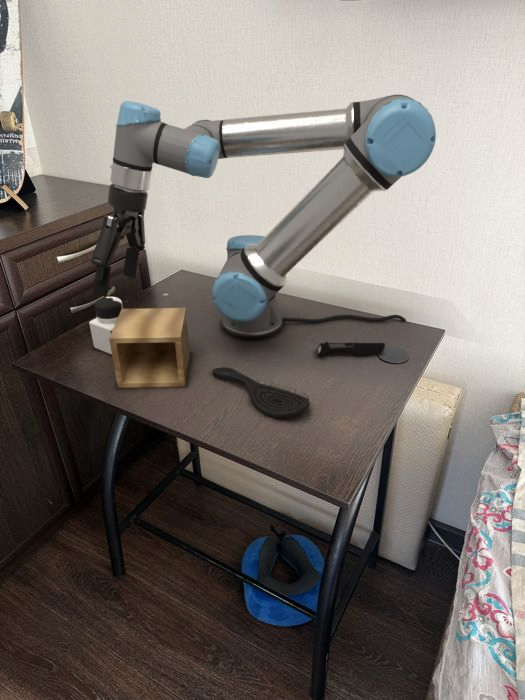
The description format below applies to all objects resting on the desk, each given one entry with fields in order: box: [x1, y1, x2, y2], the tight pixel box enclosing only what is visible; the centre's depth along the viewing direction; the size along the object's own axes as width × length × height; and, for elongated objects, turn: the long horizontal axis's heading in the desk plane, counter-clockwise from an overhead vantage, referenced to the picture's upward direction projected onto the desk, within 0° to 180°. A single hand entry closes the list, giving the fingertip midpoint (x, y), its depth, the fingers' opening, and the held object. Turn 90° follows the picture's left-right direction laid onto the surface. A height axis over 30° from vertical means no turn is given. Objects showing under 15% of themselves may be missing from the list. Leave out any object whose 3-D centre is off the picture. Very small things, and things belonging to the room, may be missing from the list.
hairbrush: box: [212, 366, 311, 419], centre depth 102 cm, size 8×4×25 cm
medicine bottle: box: [88, 296, 124, 355], centre depth 116 cm, size 7×7×12 cm
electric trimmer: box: [316, 341, 386, 358], centre depth 116 cm, size 4×16×3 cm, turn 91°
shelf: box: [109, 307, 191, 389], centre depth 107 cm, size 14×13×12 cm
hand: (115, 285), depth 109 cm, fingers open, 13 cm apart
